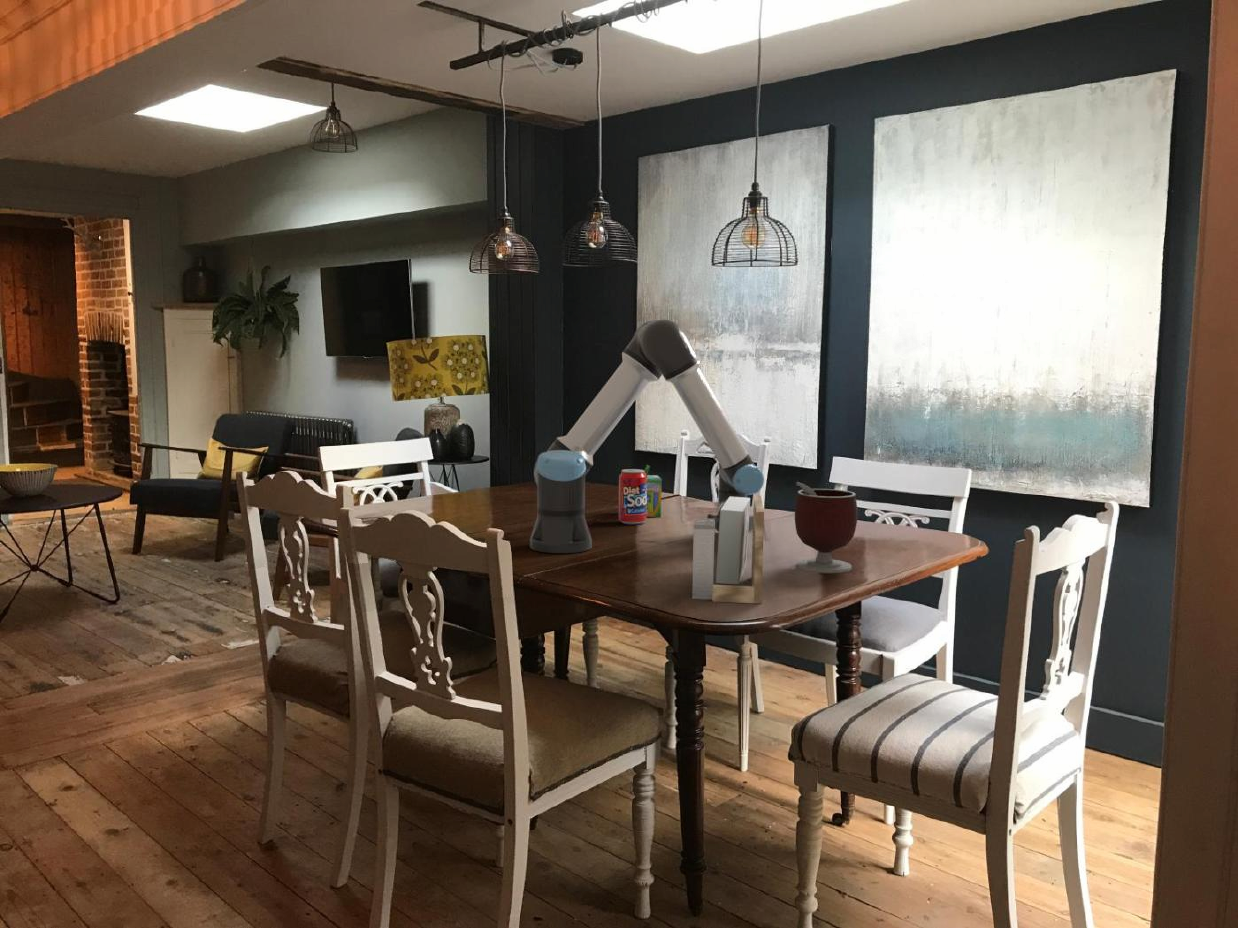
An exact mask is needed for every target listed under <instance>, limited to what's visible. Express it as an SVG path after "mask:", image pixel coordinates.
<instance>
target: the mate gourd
mask: <svg viewBox="0 0 1238 928" xmlns="http://www.w3.org/2000/svg"><path fill="white" fill-rule="evenodd" d="M795 485H796V486H797V487H799V488H801V489H800V490H798V491H797V497H796V500H795V507H794V524H795V531H796V535H797V536H798V537H799V539H800V541H801V542H802V544H804V545H806V546H808V547H809V548H811V549H813V550H815V551H817V552H818V553H817V555H816V558H804V559H800V560H797V562H796V567H797V568H798V569H800V570H803V571H806V572H812V573H821V574H838V573H839V574H842V573H846V572H849V571H852V567H853V566H852V564H851V563H850V562H846V561H843V560H839V559H833V556H832V555H831V552H834V551H837V550H839V549H841V548H844V547H846V546H848V544H849V543H850V542H851V540H852V539H853V538H854V535H855V533H856V530H857V529H856V528H857V523H858V503H857V498H856V496H857V495H856V493H855V492H853V491H849V490H845V489H833V488H832V489H831V488H811V487H810V486H808V485H806V484H804V483H801V482H799V481H796V483H795Z"/></svg>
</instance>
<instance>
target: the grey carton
mask: <svg viewBox="0 0 1238 928" xmlns="http://www.w3.org/2000/svg"><path fill="white" fill-rule="evenodd" d="M715 533H716V529H715V519H710V518H707V517H706V518H705V517H704V518H703V517H701V518H700V517H695V518H694V522H693V541H692V542H693V543H692V544H693V548H692V552H693V553H692V595H691V596H692V597H691V599H693V600H710V601H711V600H712V601H713V585H714V580H715V579H714V577H715V576H714V575H715V574H714V572H715V537H716V536H715V535H716V534H715Z"/></svg>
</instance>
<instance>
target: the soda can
mask: <svg viewBox="0 0 1238 928" xmlns="http://www.w3.org/2000/svg"><path fill="white" fill-rule="evenodd" d="M647 518H648V517H647V476H646V474H645V469H639V468H638V469H636V468H632V469H631V468H629V469H622V470H621V473H620V474H619V476H618V520H619V522H621V524H625V525H628V526H629V525H635V526H636V525H642V524H643V523H645V522H646V521H647Z"/></svg>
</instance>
